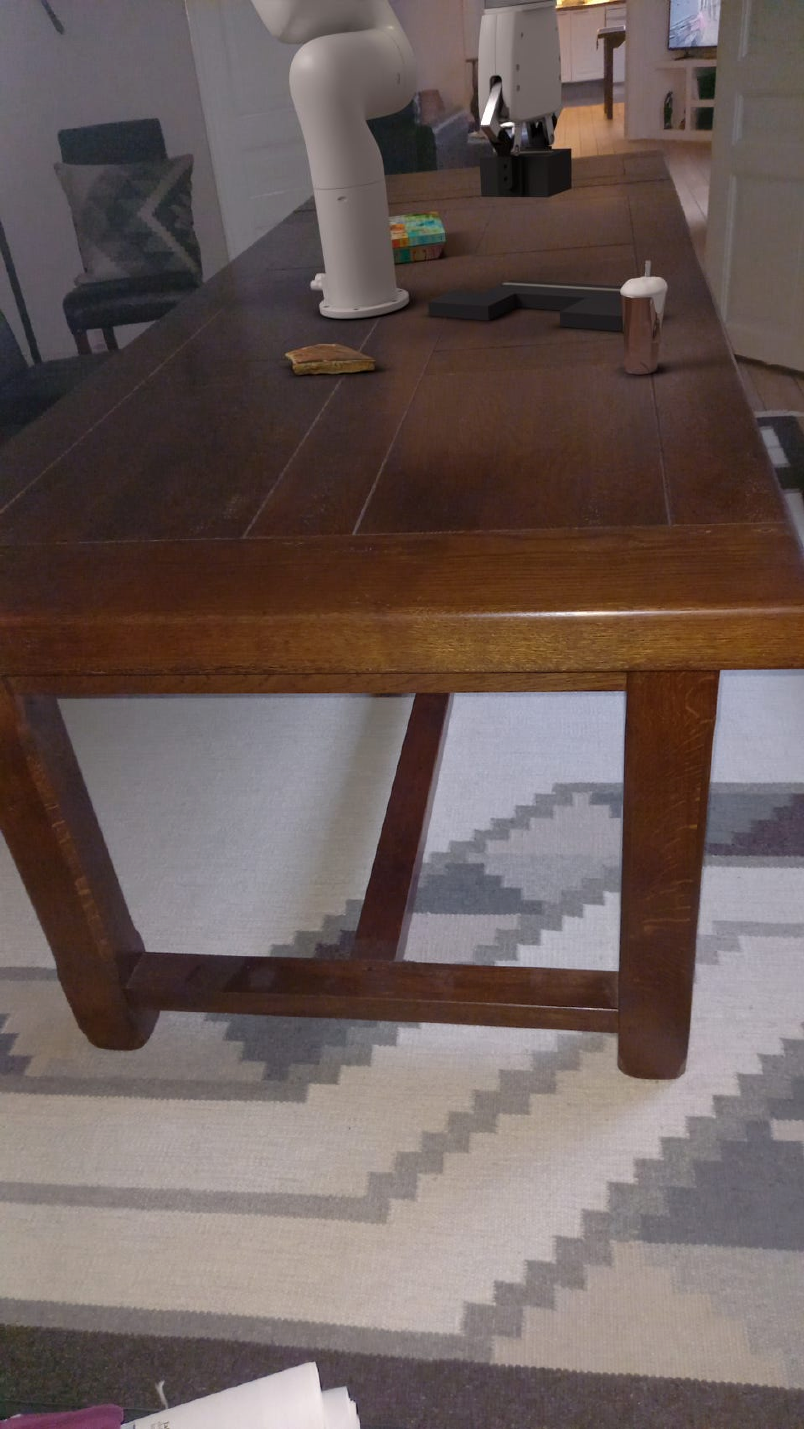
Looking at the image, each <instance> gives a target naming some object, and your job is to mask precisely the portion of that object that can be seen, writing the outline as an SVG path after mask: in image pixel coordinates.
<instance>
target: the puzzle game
mask: <svg viewBox="0 0 804 1429" xmlns="http://www.w3.org/2000/svg"><path fill="white" fill-rule="evenodd" d="M389 220H390V230H391V239H392V248H393V258H394V265H395V264H401V263H410V262H417V261H425V260H432V259H434V260H435V259H438V258H439V256H440V255H441V253H442V251H443V250H444V248H445V245H446V242H447V238H446V236H447V235H446V231H445V228H444V225H443V223H442V220H441V217H440V213H439V212H438V211H426V212H419V213H417V212H416V213H410V214H403V215H395V216H389Z"/></svg>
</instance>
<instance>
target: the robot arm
mask: <svg viewBox="0 0 804 1429" xmlns="http://www.w3.org/2000/svg"><path fill="white" fill-rule="evenodd" d="M250 2H251V3H252V5H253V7H254V8H255V10H256V12H257V14H258V16H259V17H260V19H261V21H262V22H263V25H264V26H265V28H266V29H267V30H268V32H269V33H270V34H271V36H272V37H273V38H274V39H275V40H277V41H278V42H280V43H282V44H287V45H302V46H300V48H299V49H298V50H297V52H295V55H294V56H293V58H292V60H291V64H290V68H289V73H288V74H289V75H288V81H289V82H288V83H289V84H288V85H289V91H290V96H291V99H292V104H293V107H294V110H295V113H296V116H297V119H298V122H299V125H300V128H301V132H302V135H303V136H302V137H303V140H304V144H305V148H306V154H307V158H308V165H309V171H310V177H311V184H312V189H313V196H314V203H315V210H316V217H317V224H318V229H319V230H318V231H319V236H320V244H321V250H322V255H323V256H322V257H323V263H324V273H323V272H321V273H320V272H318V273H317V274H316V275H315V278H314V279H312V280H311V281H310V284H309V286H310V289H311V290H312V291H316V292H317V291H318V292H321V291H322V294H323V300H322V301H321V302H320V303H319V311H320V314H321V315H322V316H323V317H326V318H330V319H337V320H338V319H340V320H352V319H353V320H354V319H364V318H370V317H376V316H381V315H385V314H389V313H392V312H395V311H397V310H400V309H402V308H404V307H405V306H407V305H408V304H409V303H410V295H409V292H408V291H407V290H406V289H403V288H399V287H398V286H397V278H396V276H397V275H396V269H395V268H396V266H395V264H394V258H393V248H392V239H391V230H390V220H389V217H390V213H389V202H388V194H387V184H386V176H385V167H384V162H383V156H382V153H381V150H380V147H379V145H378V142H377V141H376V139H375V137H374V135H373V133H372V131H371V129H370V128H369V125H368V123H367V122H366V121H369V120H374V119H378V118H382V117H387V116H391V115H393V114H396V113H399V112H400V111H402V110H404V109H405V108H406V107H407V106H408V105H409V104H410V103H411V101H412V100H413V98H414V97H415V94H416V91H417V88H418V79H419V78H418V76H419V72H418V65H417V59H416V56H415V52H414V50H413V47H412V46H411V43H410V40H409V39H408V36H407V34H406V32H405V31H404V29H403V27H402V25H401V23H400V21H399V19H398V17H397V15H396V13H395V11H394V10H393V7H392V6H391V4H390V2H389V0H250ZM557 6H558V0H483V15H481V20H480V27H479V28H480V29H479V37H478V38H479V40H478V54H477V56H478V58H477V59H478V60H477V61H478V64H477V70H478V71H477V82H478V83H477V86H478V87H477V90H478V91H477V95H478V115H479V116H478V117H479V119H480V129H481V131H482V132H483V133H484V135H485V136H486V137H487V138H488V140H489V143H490V144H491V146H492V153H494V156H496V157H497V174H498V193H499V195H500V196H522V195H524V193H525V183H524V155H519V153H520V149H521V145H522V134H523V127H524V126H523V125H524V124H525V128H526V134H527V140H528V145H527V146H525V147H524V149H553V145H554V144H555V140H556V138H555V136H556V135H555V130H556V129H557V125H558V121H559V118H560V116H561V113H563V112H562V111H563V110H564V102H563V99H562V56H561V55H562V54H561V42H560V30H559V29H560V28H559V22H558V12H557ZM303 44H304V45H303ZM508 131H511V136H510V134H509V133H508Z"/></svg>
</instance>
